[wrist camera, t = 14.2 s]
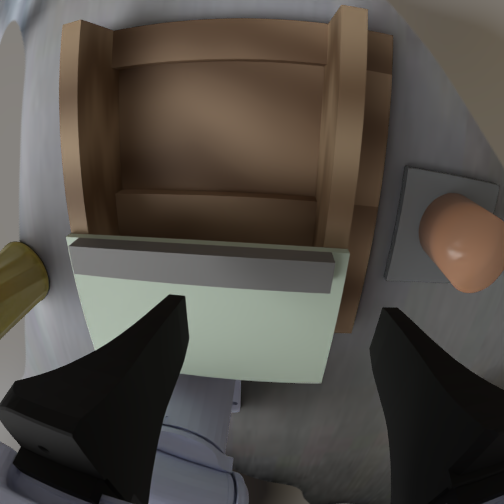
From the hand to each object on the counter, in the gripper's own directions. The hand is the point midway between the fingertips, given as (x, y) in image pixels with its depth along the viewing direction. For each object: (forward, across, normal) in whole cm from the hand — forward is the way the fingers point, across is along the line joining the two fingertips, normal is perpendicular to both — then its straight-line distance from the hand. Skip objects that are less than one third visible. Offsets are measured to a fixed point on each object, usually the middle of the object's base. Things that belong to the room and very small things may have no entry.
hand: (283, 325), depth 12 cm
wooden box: (+10, +4, -2) cm, 12 cm away
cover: (+5, +4, +4) cm, 7 cm away
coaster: (+10, -12, 0) cm, 16 cm away
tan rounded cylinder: (+10, -12, -1) cm, 15 cm away
